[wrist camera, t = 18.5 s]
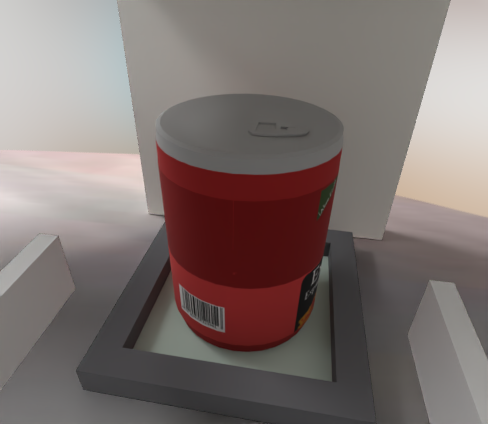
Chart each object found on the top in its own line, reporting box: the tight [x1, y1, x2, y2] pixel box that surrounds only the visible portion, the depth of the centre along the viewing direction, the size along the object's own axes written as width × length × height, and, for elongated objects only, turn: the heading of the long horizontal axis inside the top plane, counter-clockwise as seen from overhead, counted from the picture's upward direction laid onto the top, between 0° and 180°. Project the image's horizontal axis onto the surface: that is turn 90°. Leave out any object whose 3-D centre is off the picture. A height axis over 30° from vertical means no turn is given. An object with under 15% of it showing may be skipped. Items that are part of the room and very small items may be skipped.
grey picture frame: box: [76, 223, 376, 424], centre depth 22 cm, size 13×13×2 cm
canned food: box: [156, 94, 344, 352], centre depth 19 cm, size 8×8×11 cm
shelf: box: [117, 0, 451, 240], centre depth 17 cm, size 17×18×19 cm
